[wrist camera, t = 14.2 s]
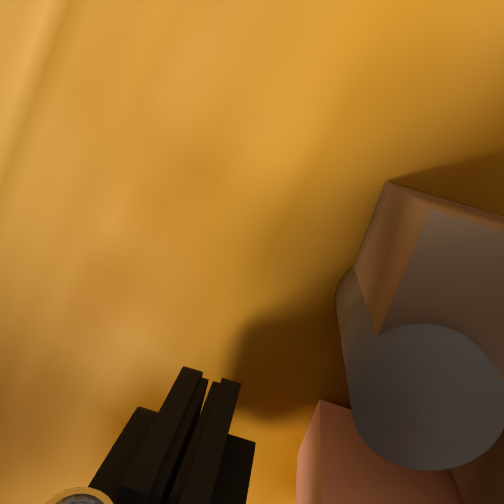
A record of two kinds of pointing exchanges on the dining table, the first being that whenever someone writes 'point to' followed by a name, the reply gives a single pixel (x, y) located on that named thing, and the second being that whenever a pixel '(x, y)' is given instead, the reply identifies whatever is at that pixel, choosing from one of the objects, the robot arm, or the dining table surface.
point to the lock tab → (360, 468)
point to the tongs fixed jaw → (425, 330)
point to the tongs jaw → (483, 476)
